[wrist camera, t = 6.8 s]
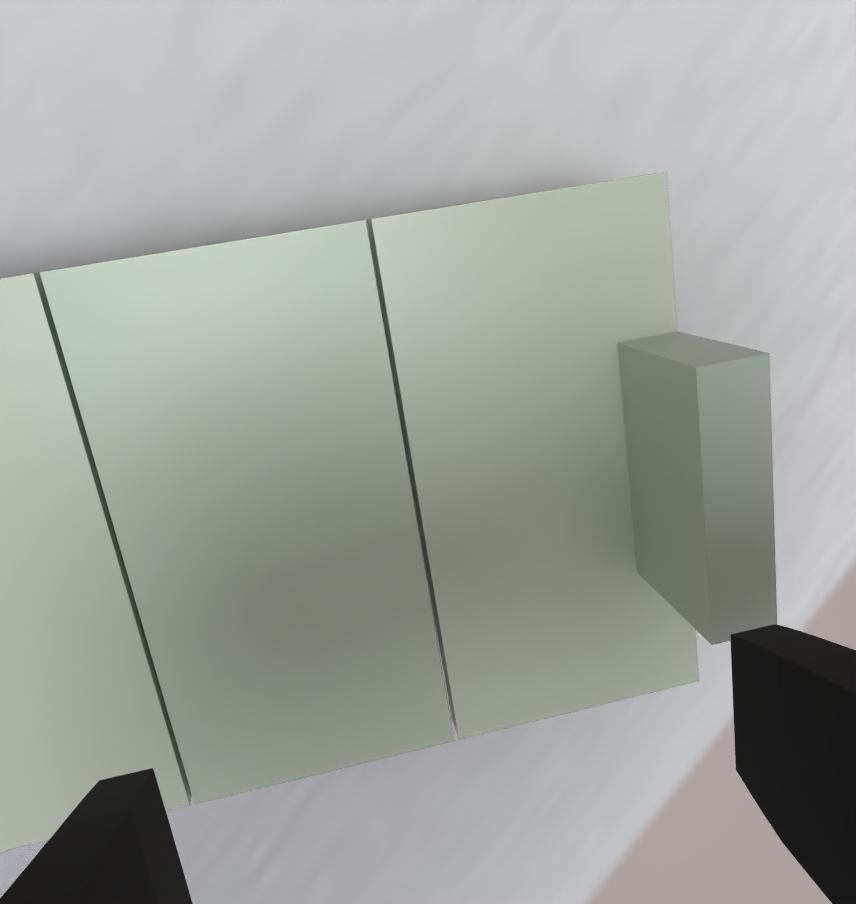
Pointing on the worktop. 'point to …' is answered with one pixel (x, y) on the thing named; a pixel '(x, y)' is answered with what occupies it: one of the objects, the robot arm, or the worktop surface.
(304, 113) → the worktop surface
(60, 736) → the lid
